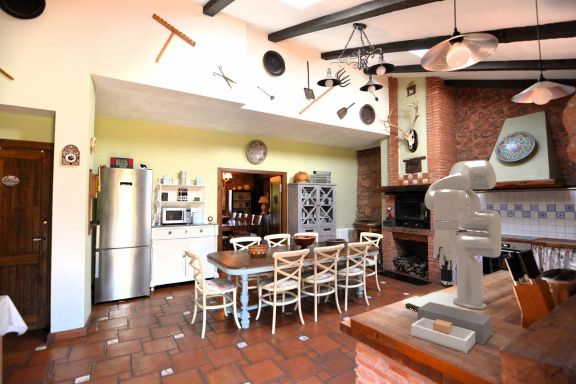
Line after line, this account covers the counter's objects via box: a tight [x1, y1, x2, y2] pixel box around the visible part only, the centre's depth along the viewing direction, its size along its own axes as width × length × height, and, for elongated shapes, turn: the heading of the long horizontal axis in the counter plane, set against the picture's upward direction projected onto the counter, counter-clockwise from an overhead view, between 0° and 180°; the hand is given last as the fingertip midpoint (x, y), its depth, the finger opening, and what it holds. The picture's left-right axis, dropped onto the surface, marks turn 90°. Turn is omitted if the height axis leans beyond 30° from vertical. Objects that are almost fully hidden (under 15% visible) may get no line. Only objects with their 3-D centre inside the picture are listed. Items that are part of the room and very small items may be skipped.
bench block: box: [417, 301, 493, 346], centre depth 103 cm, size 12×20×6 cm, turn 45°
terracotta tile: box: [433, 319, 452, 335], centre depth 94 cm, size 4×4×2 cm
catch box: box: [410, 318, 477, 354], centre depth 95 cm, size 10×16×4 cm, turn 45°
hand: (446, 280), depth 99 cm, fingers closed
